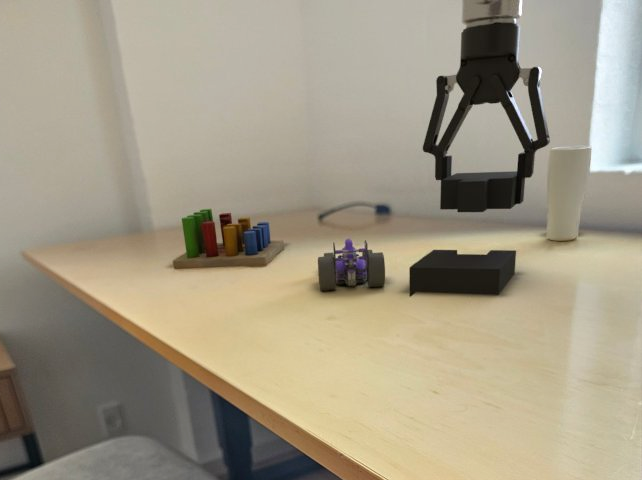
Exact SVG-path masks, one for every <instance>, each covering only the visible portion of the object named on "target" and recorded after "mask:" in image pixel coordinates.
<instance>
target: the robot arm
mask: <svg viewBox="0 0 642 480" xmlns="http://www.w3.org/2000/svg"><path fill="white" fill-rule="evenodd" d="M461 2H462V4H461V5H462V6H461V10H462V11H461V23H462V24H463V25H464V26H465V28H463V30H462V32H461V33H460V58H459V59H460V61H459V63H460V64H459V68H458V70H457V72H456V74H451V75H439V76H437V78H436V81H435V82H436V83H435V84H436V96H435V99H434V104H433V107H432V112H431V115H430V119H429V123H428V126H427V129H426V132H425V133H426V134H425V137H424V141H423V144H422V151H423V152H424V153H427V154H431V155H432V156H433V157H434V159H435V160H434V178H435V180H436V181H441V180H442V179H445V178H447V177H449V176H452V168H453V167H452V165H453V163H452V162H453V155H447V154H448V152H449V149H450V148H451V145H452V144H453V142H454V140H455V138H456V136H457V135H458V132H459V130H460V129H461V127H462V125H463V123H464V121H465V119H466V117H468V114H469V112H470V111H471V110H472V108H473V106H477V105H484V104H490V105H491V104H492V105H493V104H500V105H501V107H502V108H503V109H504V112H505V113H506V116H507V117H508V120H509V121H510V124H511V125H512V128H513V130H514V132H515V134H516V137H517V138H518V141H519V143H520V145H521V147H522V148H523V152H520V153H518V155H517V168H516V171H517V182H516V196H515V204H516V205H521V204H522V203H523V202H524V198H525V197H524V196H525V185H526V179H530V178H531V177H533V174H534V170H535V160H536V159H535V158H536V152H537V151H538V150H541V149H543V148H545V147H547V146H548V145H549V144H550V143H551V137H550V132H549V127H548V122H547V116H546V112H545V107H544V101H543V96H542V90H541V81H542V75H543V74H542V73H543V70H542V68H541V67H540V66H533V67H531V68H530V67H529V68H521V66H520V63H519V50H520V49H519V47H520V34H521V26H520V24H519V23H516V22H517V20H518V19H520V18H521V16H522V9H523V8H522V7H523V0H462V1H461ZM520 78H521V79H522V82H523V85H524V86H525V87H527V93H528V98H529V103H530V108H531V113H532V119H533V123H534V129H535V134H536V139H534V138H533V136H532V135H531V132H530V129H529V128H528V126H527V123H526V121H525V120H524V118H523V115H522V113H521V112H520V109H519V107H518V105H517V103H516V102H517V101H516V99H515V97H514V95H513V92H512V91H511V90H512V89H513V88H514V86H515V85H516V83H517V82H518V81H519V79H520ZM456 84H457V85H458V87H459V88H460V90H461V92H462V93H463V95H462V97H461V98H460V101H459V102H458V105H457V108H456V110H455V112H454V114H453V115H452V117H451V119H450V122H449V123H448V124H447V127H446V129H445V131H444V133H443V135H442V136H441V139H440V140H439V142H438V138H439V134H440V132H441V127H442V124H443V120H444V117H445V113H446V110H447V106H448V102H449V100H450V99H449V98H450V93H452V92H453V91H454V88H455V85H456ZM437 142H438V144H437Z"/></svg>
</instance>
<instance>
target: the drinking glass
mask: <svg viewBox="0 0 642 480" xmlns="http://www.w3.org/2000/svg"><path fill="white" fill-rule="evenodd" d="M592 148H593V147H592V146H590V145H570V146H559V147H558V146H557V147H552V148H550V149H549V154H548V160H547V162H548V163H547V173H546V175H547V178H546V180H547V181H546V192H547V193H546V201H547V202H546V233H545V234H546V235H545V237H546V238H547V239H548V240H550V241H555V242H565V241H566V242H567V241H573V240H576V239H577V238H578V236H579V230H580V229H579V228H580V222H581V217H582V212H583V207H584V202H585V197H586V191H587V186H588V181H589V176H590V170H591V160H592Z"/></svg>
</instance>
